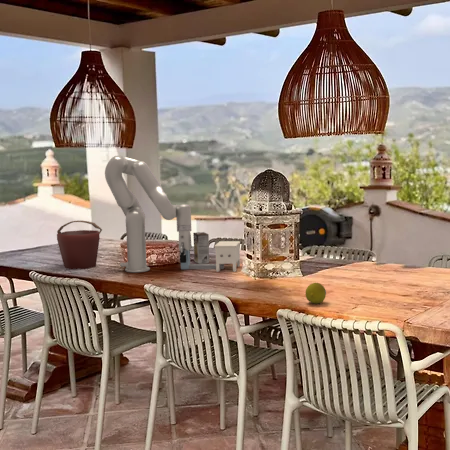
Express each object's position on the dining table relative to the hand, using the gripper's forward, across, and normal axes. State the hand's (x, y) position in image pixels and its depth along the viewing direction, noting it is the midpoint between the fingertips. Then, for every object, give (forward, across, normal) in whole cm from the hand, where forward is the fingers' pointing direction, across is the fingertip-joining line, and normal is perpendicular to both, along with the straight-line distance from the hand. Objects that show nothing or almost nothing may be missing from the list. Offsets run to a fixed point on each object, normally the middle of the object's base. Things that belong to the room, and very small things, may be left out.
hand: (185, 261), depth 335 cm
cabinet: (+4, 0, -22) cm, 23 cm away
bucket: (+4, +5, +59) cm, 59 cm away
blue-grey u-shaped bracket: (+4, 0, -9) cm, 10 cm away
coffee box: (+4, +19, -5) cm, 20 cm away
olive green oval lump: (+4, -75, -68) cm, 101 cm away
